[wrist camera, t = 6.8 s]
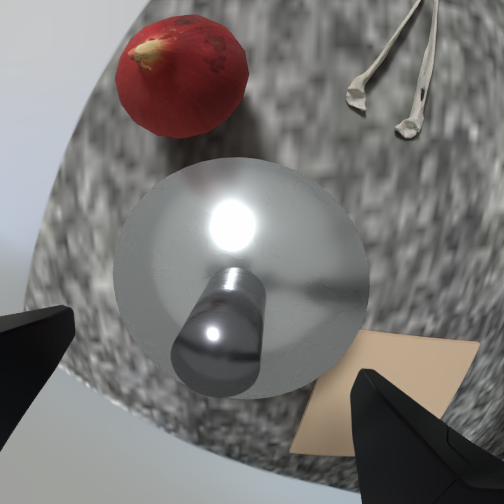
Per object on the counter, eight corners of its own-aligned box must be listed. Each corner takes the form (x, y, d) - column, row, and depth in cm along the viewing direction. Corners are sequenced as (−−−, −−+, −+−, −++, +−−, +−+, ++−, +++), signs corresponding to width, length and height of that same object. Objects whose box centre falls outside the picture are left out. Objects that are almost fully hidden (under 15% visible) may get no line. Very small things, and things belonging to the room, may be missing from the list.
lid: (391, 188, 13) (462, 205, 7) (326, 402, 16) (339, 486, 10) (132, 143, 13) (51, 135, 7) (121, 361, 16) (72, 428, 10)
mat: (477, 341, 18) (480, 344, 18) (414, 451, 22) (416, 454, 21) (334, 325, 19) (335, 328, 18) (289, 449, 22) (289, 452, 21)
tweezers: (408, 144, 16) (422, 140, 14) (338, 104, 16) (346, 95, 14) (460, -22, 13) (470, -33, 11) (409, -53, 13) (417, -66, 11)
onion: (188, 33, 15) (135, -37, 7) (274, 75, 15) (271, 8, 8) (135, 115, 16) (49, 90, 9) (216, 162, 17) (168, 158, 9)
